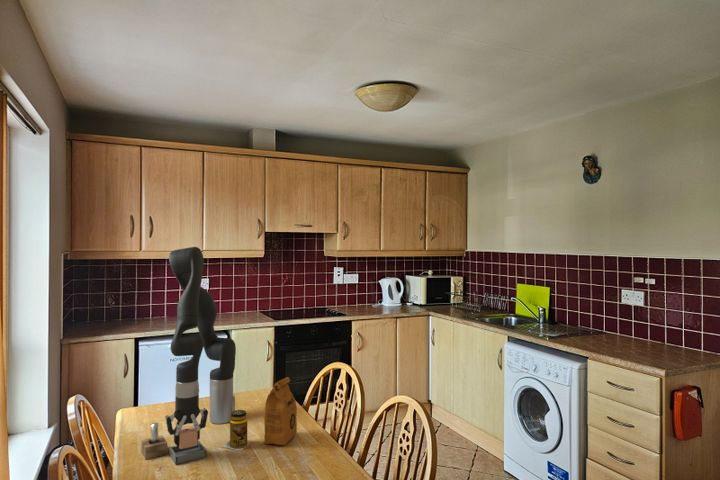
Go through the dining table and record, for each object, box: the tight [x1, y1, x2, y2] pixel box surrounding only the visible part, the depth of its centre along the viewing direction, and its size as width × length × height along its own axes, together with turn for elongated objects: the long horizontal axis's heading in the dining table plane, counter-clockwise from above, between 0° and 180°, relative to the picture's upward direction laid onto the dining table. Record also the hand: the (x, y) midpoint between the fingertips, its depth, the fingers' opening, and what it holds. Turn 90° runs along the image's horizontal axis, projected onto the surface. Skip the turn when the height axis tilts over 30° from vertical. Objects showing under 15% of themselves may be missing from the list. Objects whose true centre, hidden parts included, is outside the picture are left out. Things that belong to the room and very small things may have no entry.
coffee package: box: [263, 376, 298, 446], centre depth 178 cm, size 10×12×22 cm
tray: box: [168, 440, 207, 466], centre depth 165 cm, size 10×9×2 cm
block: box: [179, 425, 197, 449], centre depth 165 cm, size 6×6×5 cm
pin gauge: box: [150, 422, 159, 444], centre depth 167 cm, size 2×2×10 cm
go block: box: [140, 435, 168, 460], centre depth 167 cm, size 7×7×4 cm
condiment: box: [221, 409, 252, 451], centre depth 174 cm, size 7×8×12 cm
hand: (186, 442), depth 165 cm, fingers closed on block, 5 cm apart
